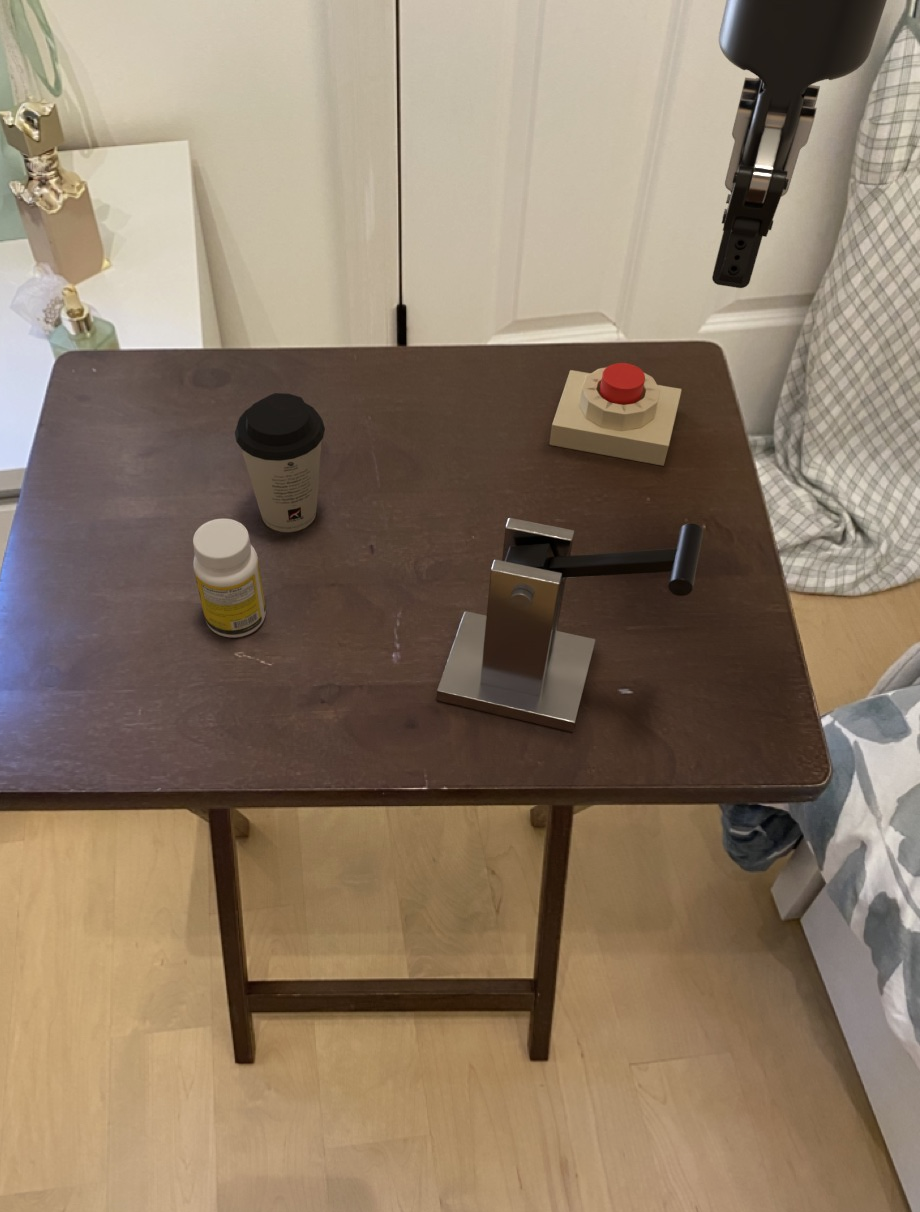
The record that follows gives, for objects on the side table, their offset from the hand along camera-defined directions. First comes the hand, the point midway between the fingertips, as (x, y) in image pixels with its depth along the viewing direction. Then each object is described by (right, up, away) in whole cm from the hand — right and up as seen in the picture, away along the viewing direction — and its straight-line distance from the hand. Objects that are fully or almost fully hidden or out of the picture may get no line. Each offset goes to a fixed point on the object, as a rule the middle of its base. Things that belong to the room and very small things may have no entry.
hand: (730, 279), depth 66 cm
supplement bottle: (-32, -19, +18) cm, 42 cm away
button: (0, +1, +28) cm, 28 cm away
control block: (0, -1, +30) cm, 31 cm away
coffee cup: (-29, -10, +25) cm, 39 cm away
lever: (-7, -18, +4) cm, 19 cm away
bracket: (-11, -23, +14) cm, 30 cm away
